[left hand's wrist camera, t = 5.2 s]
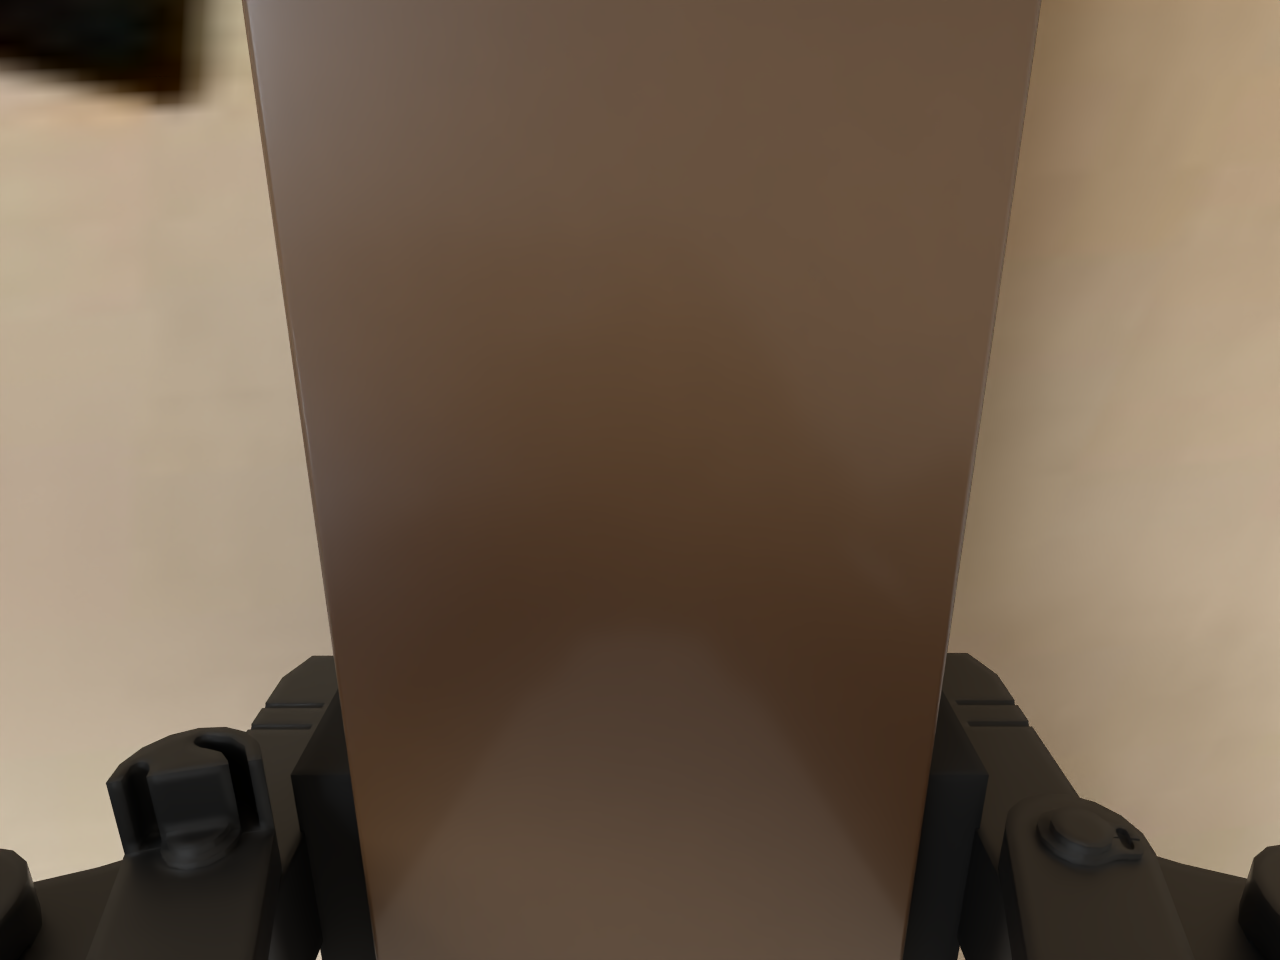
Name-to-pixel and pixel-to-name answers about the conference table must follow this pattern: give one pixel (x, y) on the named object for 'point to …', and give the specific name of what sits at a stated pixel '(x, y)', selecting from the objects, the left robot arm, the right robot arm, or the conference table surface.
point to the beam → (640, 447)
